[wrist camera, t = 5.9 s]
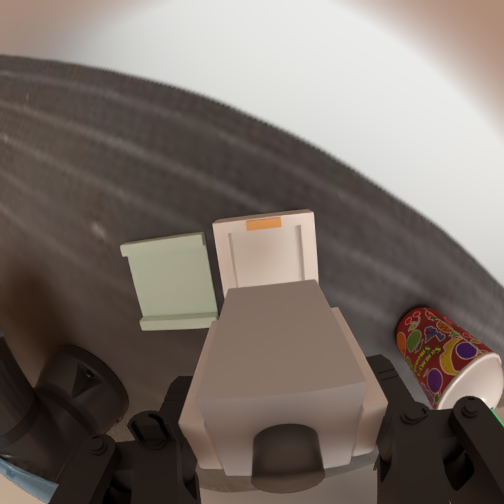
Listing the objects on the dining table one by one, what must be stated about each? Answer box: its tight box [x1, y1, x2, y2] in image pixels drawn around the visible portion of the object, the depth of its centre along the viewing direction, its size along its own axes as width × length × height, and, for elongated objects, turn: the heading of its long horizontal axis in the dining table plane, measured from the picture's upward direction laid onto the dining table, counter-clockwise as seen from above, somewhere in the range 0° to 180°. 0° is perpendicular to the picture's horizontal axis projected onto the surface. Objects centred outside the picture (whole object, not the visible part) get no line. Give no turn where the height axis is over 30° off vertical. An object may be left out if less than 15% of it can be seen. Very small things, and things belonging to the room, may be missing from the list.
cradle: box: [120, 231, 219, 331], centre depth 28 cm, size 9×10×2 cm
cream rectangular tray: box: [213, 209, 318, 298], centre depth 24 cm, size 9×17×10 cm, turn 7°
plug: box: [196, 279, 366, 493], centre depth 10 cm, size 4×4×10 cm
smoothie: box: [397, 307, 504, 427], centre depth 20 cm, size 8×8×20 cm
